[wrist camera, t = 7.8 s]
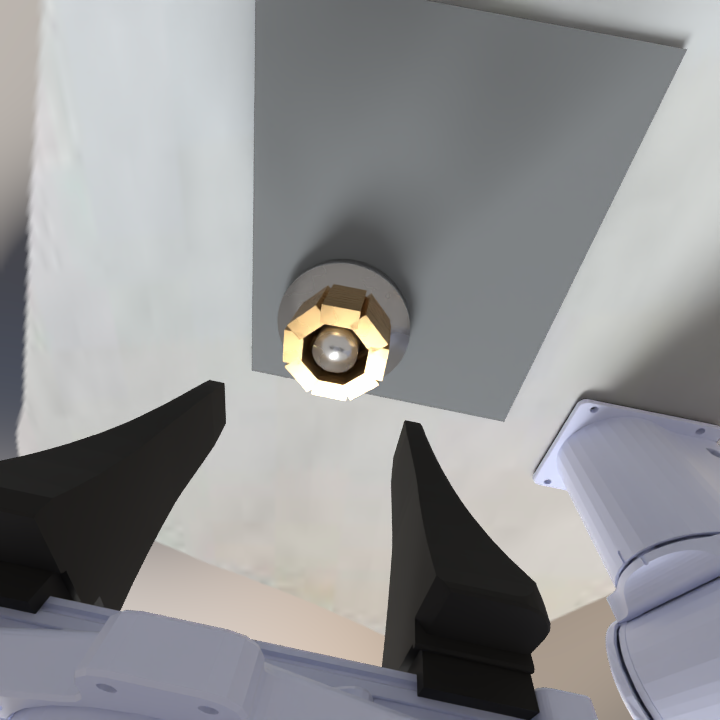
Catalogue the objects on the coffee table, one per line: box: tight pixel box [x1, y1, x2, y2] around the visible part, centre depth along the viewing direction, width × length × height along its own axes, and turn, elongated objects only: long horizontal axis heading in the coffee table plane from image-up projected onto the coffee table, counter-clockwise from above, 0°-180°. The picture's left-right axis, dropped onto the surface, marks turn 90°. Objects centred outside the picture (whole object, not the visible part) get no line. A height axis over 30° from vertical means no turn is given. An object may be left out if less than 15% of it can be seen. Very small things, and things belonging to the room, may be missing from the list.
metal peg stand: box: [277, 259, 410, 377], centre depth 20 cm, size 8×8×4 cm
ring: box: [283, 284, 391, 401], centre depth 19 cm, size 5×5×3 cm
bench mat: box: [252, 0, 687, 422], centre depth 20 cm, size 18×20×1 cm
